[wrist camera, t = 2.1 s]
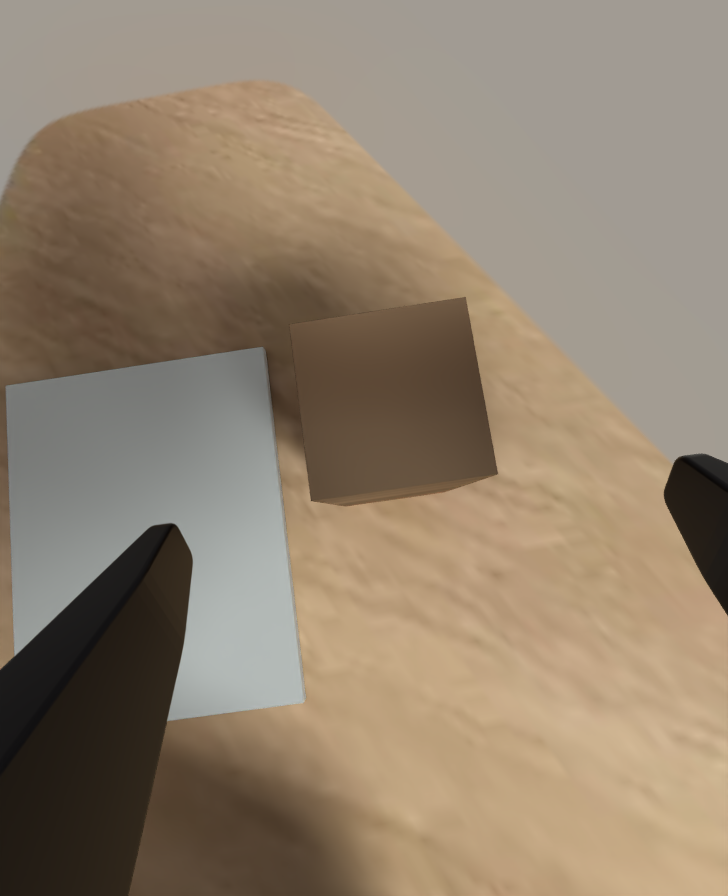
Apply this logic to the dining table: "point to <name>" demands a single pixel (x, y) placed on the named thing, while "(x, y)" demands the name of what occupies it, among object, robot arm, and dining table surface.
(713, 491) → the robot arm
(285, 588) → the mat
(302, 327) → the walnut block
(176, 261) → the dining table surface
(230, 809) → the dining table surface
